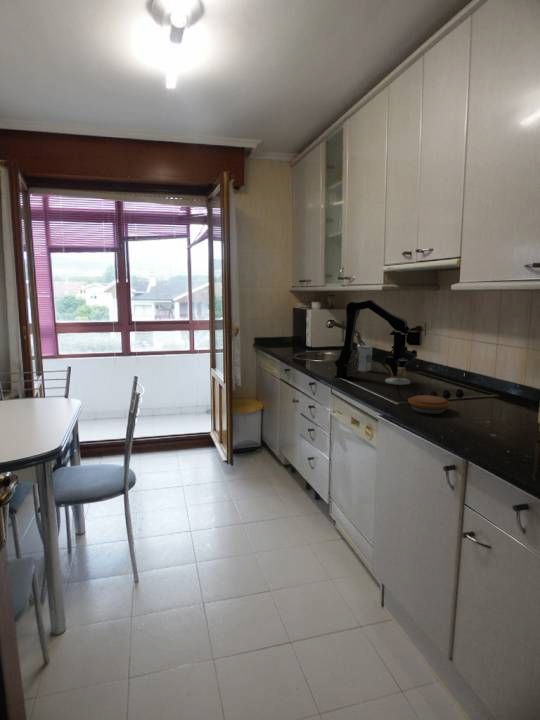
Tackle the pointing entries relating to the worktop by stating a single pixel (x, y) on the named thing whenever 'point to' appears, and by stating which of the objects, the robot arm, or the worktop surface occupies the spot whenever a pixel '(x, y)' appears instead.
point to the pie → (428, 404)
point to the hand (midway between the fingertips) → (397, 375)
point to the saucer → (397, 381)
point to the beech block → (399, 373)
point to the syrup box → (364, 358)
